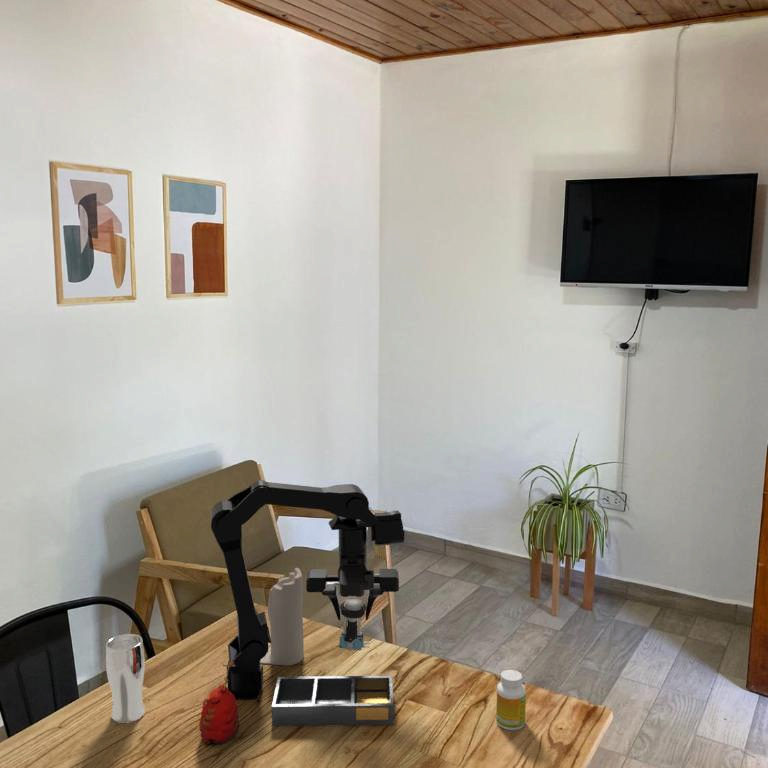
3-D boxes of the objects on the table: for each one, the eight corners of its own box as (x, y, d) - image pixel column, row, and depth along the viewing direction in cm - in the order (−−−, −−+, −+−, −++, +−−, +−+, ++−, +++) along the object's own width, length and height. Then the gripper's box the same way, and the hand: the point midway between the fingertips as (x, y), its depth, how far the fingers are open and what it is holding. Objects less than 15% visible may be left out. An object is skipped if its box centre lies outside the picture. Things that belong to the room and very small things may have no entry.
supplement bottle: (524, 732, 145) (526, 684, 143) (495, 729, 146) (496, 681, 144) (525, 716, 150) (526, 669, 149) (496, 713, 151) (497, 666, 150)
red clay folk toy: (206, 723, 148) (203, 649, 146) (243, 724, 148) (241, 649, 145) (196, 748, 140) (192, 670, 138) (235, 748, 140) (232, 671, 138)
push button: (371, 643, 165) (374, 598, 164) (368, 655, 160) (370, 609, 159) (340, 640, 166) (343, 595, 165) (335, 652, 161) (338, 605, 160)
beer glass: (154, 709, 152) (151, 637, 150) (129, 729, 146) (125, 654, 144) (127, 701, 155) (123, 630, 153) (101, 720, 149) (96, 646, 147)
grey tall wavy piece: (247, 646, 177) (244, 562, 174) (307, 650, 175) (305, 565, 172) (237, 662, 170) (234, 575, 167) (299, 666, 168) (297, 578, 165)
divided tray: (271, 727, 147) (271, 707, 146) (278, 695, 157) (278, 676, 157) (393, 725, 147) (393, 706, 146) (391, 694, 158) (392, 675, 157)
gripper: (303, 562, 152) (304, 638, 154) (400, 562, 152) (399, 637, 154) (308, 542, 163) (309, 613, 165) (397, 541, 163) (397, 612, 165)
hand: (353, 619), depth 162 cm, fingers closed on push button, 5 cm apart
